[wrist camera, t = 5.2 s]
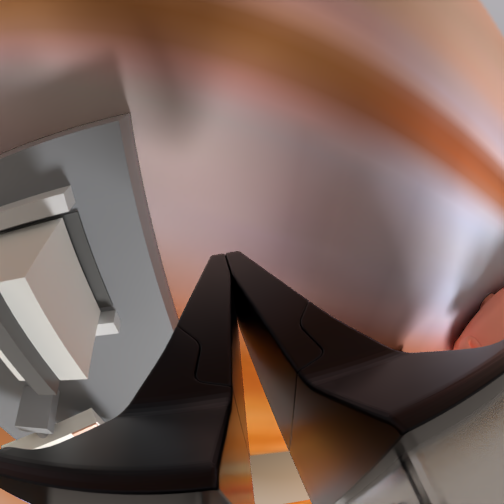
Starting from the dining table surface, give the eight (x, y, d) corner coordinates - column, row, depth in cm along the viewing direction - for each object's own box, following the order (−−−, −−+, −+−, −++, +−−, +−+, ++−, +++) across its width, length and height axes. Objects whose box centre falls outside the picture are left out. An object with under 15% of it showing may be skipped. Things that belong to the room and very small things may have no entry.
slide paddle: (62, 217, 8) (16, 293, 5) (100, 311, 11) (85, 394, 7) (-3, 235, 8) (-54, 304, 5) (40, 319, 10) (15, 394, 7)
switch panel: (130, 113, 9) (92, 139, 5) (218, 429, 22) (228, 481, 18) (-117, 221, 7) (-158, 266, 3) (37, 436, 19) (32, 478, 15)
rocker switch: (88, 403, 13) (95, 421, 12) (117, 434, 15) (125, 449, 14) (-2, 441, 10) (1, 459, 9) (36, 467, 12) (41, 484, 11)
